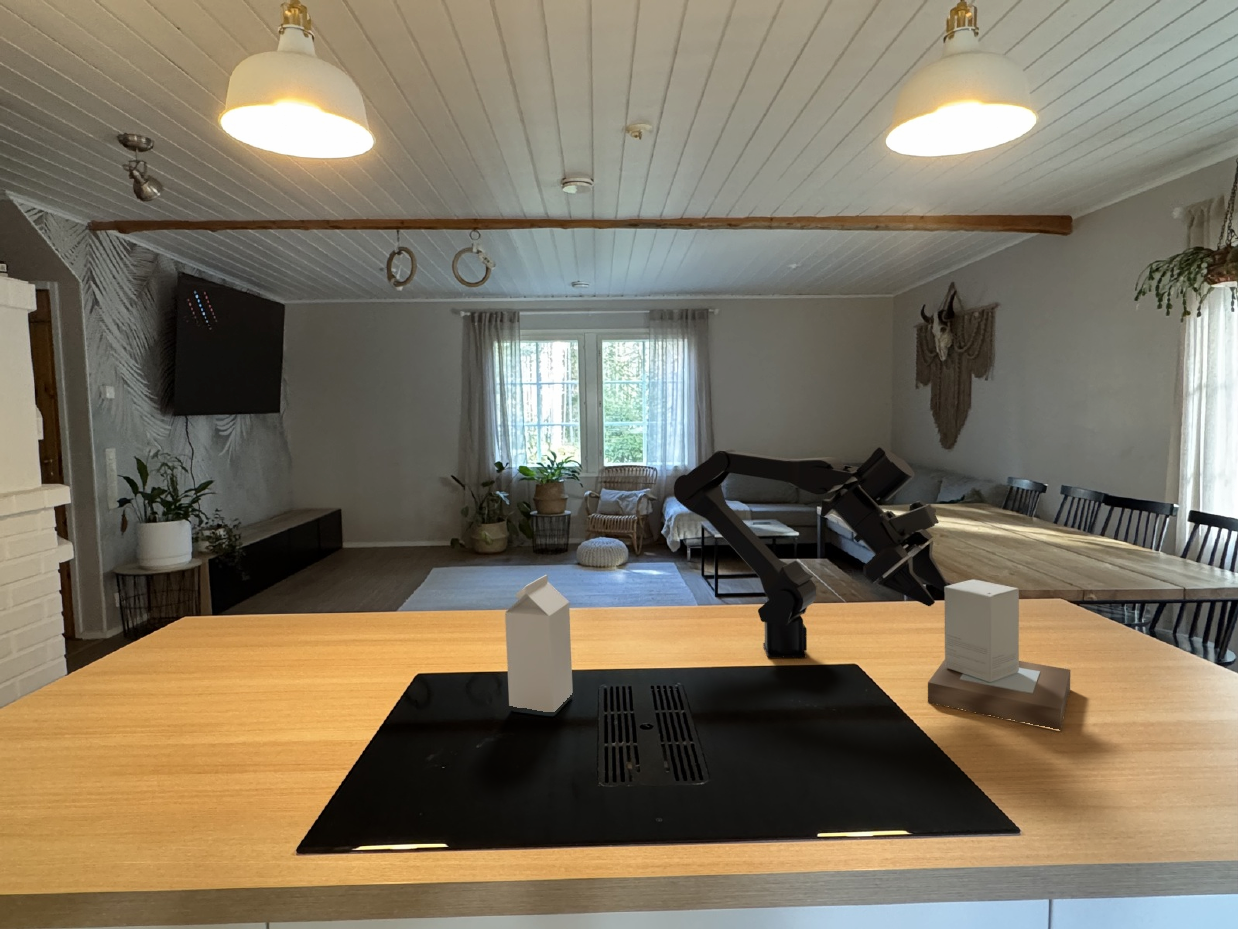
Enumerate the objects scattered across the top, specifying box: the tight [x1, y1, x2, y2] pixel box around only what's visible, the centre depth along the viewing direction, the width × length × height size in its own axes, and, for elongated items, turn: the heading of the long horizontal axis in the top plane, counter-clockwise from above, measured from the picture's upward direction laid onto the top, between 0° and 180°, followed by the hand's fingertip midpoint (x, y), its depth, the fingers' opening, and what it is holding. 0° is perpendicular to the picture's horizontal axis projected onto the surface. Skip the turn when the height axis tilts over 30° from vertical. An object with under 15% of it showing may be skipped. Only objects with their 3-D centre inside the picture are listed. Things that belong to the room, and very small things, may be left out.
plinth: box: [927, 659, 1071, 731], centre depth 98 cm, size 16×16×3 cm
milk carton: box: [504, 574, 574, 712], centre depth 99 cm, size 7×7×19 cm
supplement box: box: [943, 578, 1020, 682], centre depth 99 cm, size 7×7×13 cm
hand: (939, 596), depth 102 cm, fingers open, 9 cm apart
